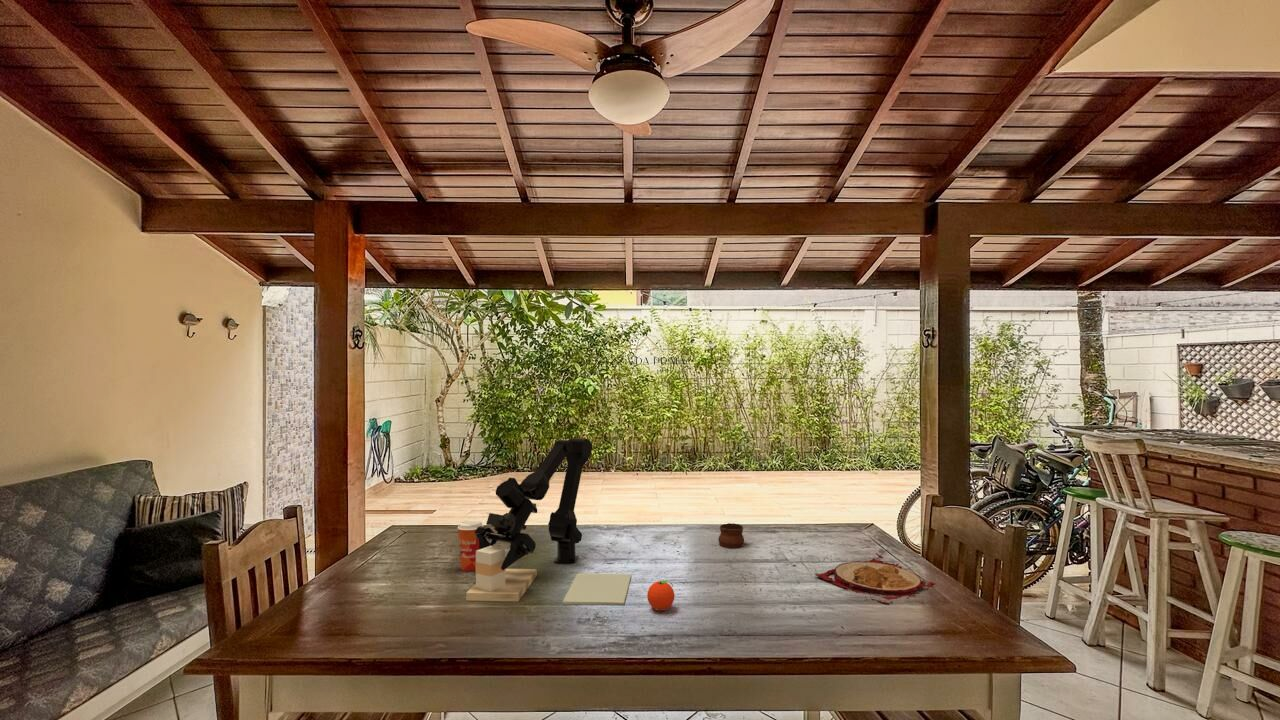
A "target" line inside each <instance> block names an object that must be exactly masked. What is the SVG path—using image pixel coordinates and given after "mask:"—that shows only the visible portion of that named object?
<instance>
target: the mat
mask: <svg viewBox="0 0 1280 720" xmlns="http://www.w3.org/2000/svg"><path fill="white" fill-rule="evenodd" d="M631 579H632V574H631V573H630V574H629V573H585V572H584V573H576V576H574V579H573V581H572V582H571V585H570V586H569V589H568V590H567V593H566V594H565V596H564V598H563V600H562V605H597V606H598V605H601V606H602V605H603V606H604V605H605V606H606V605H607V606H608V605H610V606H612V605H613V606H625V603H626V600H627V599H626V598H627V594H628V590H629V587H630V582H631Z"/></svg>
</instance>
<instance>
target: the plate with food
mask: <svg viewBox="0 0 1280 720" xmlns="http://www.w3.org/2000/svg"><path fill="white" fill-rule="evenodd" d="M875 555H876V556H877V558H880V559H882V560H883V559H884V556H882V555H880V554H878V553H875ZM880 559H875V557H873V558H872V559H870V560H868V561H860V560H859V561H852V562H851V561H850V562H844V563H841V564H838V565H836V566H835V568H832V569H829V570H827V571H826V572H823V573H814V575H815V576H816V577H818V578H820V579H821V578H822V579H823V580H825V581H827V582H830V583H831V584H833V585H836V586H837V587H841V588H843V589H845V591H850V590H851V591H854V593H856V594H864V595H866V594H868V595H871V596H875V597H880V598H882V599H885V600H888V601H890V600H898V598H901V597H903V598H904V597H907V598H912V597H916V596H917V595H919V593H918V594H917V595H916V593H915V592H917V591H918V590H921V588H922V589H923V588H925V590H929V589H930V588H936V586H935V585H937V583H935V582H932V581H930V582H928V583H927V582H926V581H924V580H922V579H921V578H920V577H919V575H917V574H916V573H914V572H912V571H910V570H908V569H906V568H903V567H902V566H901V565H899V563H896V564H895V563H889V562H887V561H886V562H884V561H882V560H880ZM832 574H833V577H834V580H833V577H830V575H832ZM880 595H881V596H880ZM864 598H867V596H864ZM880 598H879V599H877V601H878V602H879V603H883V604H894V602H893V601H890V602H887V601H885V600H884V601H882V600H881V599H880ZM872 600H874V598H871V601H872Z"/></svg>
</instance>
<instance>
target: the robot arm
mask: <svg viewBox="0 0 1280 720" xmlns="http://www.w3.org/2000/svg"><path fill="white" fill-rule="evenodd" d="M592 450H593V444H592V442H591V441H590V440H589V439H588V438H578V437H577V438H576V437H571V438H569V439H568V440H565V439H557V440H555V441H554V443H553V447H552V448H551V450H550V451H548V454H547V455H546V457H545V458H544V459H543V460H542V462H541V463H540V465H539V466H538V468H537V469H536V470H535V471H534V472H531V473H530V474H527V476H526V477H525V478H524V479H523V480H522V481H521V483H518V481H517V479H516V478H515V477H508V479H507V480H504V481H502V483H500V484H499V485H498V486H497V487H496V489H495V495H496V496H497V497H498V499H499V500H500V501H501V502H502V503H503V505H505V507H506V508H507V509H509V511H508V512H506V513H504V514H498V513H491V512H490V513H488V516H487V520H486V523H485V524H486V525H487V526H484V525H483V526H480V527H478V528H477V529H476V531H475V533H474V534H475V535H476V537H477V539H478V540H479V550H480V549H483V548H485V547H488V546H494V545H496V544H497V542H502V543H507V544H509V545H510V546H509V550H508V552H507V554H506V555H505V560H504V562H503V564H502V566H501V569H502V570H505V569H508V568H509V567H510V566H512V565H513V564H514V563H515V562H517V561H519V560H520V559H522V558H524V557H525V556H528V555H529V553H530V554H533V553H534V551H535V549H536V547H537V545H536V541H535V540H533V538H532V537H531V536H530V535H529V533H524V532H522V531H525V530H526V529H527V526H526V523H527V520H528V519H529V518H530V515H531V514H537V513H538V508H537V503H534V502H532V501H531V500H534V501H542V500H543V499H544V498H545V497H546V495H547V494H548V491H549V489H550V480H551V478H552V477H553V476H554V475H555V473H556V472H557V470H558V469H559V467H560V465H561V464H562V463H563V461H564V459H566V462H567V467H566V471H565V475H564V481H563V485H562V490H561V495H560V500H559V504H558V508H557V509H555V510H556V511H554V512H551V513H550V517H549V521H548V523H547V526H548V532H549V535H550V536H549V537H550V539H551V541H552V542H556V545H557V546H556V547H557V548H556V549H557V551H556V552H557V553H556V554H557V555H556V556H557V557H556V558H555V560H554V563H555V564H575V563H576V562H577V560H578V558H579V555H576V544H579V543H580V542H581V541H582V537H583V534H582V532H581V531H580V530H579V528H578V527H577V523H578V519H577V517H576V513H575V506H576V502H577V498H578V497H577V496H578V491H579V487H580V482H581V477H582V474H583V473H582V471H583V467H584V466H585V465H586V464H587V462H588V461H589V460H590V457H591V454H592ZM489 526H491V527H493V529H494V531H496V532H494V531H493V529H492V528H491V527H489Z"/></svg>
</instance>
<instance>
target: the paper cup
mask: <svg viewBox="0 0 1280 720" xmlns="http://www.w3.org/2000/svg"><path fill="white" fill-rule="evenodd" d="M480 526H483V527H484V524H483V523H482V520H477V519H469V520H464V521H461V522H459V523H458V526H457V530H458V538H459V539H458V540H459V556H460V557H459V558H460V569H461V571H462V572H463V571H464V572H473V571H476V551H477V550H479V540H478V539H477V537H476V535H475V534H474V533H475V531H476V529H477V528H478V527H480Z"/></svg>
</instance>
